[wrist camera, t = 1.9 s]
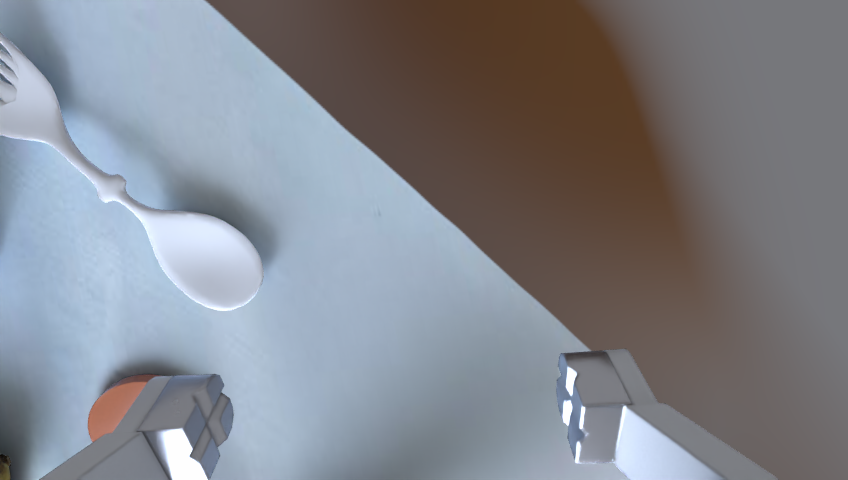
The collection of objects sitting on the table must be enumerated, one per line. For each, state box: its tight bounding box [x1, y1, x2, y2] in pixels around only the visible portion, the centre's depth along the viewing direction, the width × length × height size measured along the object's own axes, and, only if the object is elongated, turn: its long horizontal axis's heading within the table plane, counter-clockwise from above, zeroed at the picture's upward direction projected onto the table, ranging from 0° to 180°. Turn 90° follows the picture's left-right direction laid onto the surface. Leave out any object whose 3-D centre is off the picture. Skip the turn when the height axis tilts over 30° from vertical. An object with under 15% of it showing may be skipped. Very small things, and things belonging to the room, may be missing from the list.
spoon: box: [0, 32, 264, 311], centre depth 45 cm, size 9×32×4 cm, turn 43°
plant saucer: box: [88, 374, 160, 442], centre depth 53 cm, size 12×12×2 cm
